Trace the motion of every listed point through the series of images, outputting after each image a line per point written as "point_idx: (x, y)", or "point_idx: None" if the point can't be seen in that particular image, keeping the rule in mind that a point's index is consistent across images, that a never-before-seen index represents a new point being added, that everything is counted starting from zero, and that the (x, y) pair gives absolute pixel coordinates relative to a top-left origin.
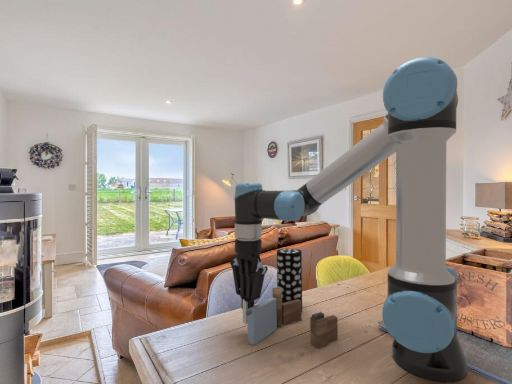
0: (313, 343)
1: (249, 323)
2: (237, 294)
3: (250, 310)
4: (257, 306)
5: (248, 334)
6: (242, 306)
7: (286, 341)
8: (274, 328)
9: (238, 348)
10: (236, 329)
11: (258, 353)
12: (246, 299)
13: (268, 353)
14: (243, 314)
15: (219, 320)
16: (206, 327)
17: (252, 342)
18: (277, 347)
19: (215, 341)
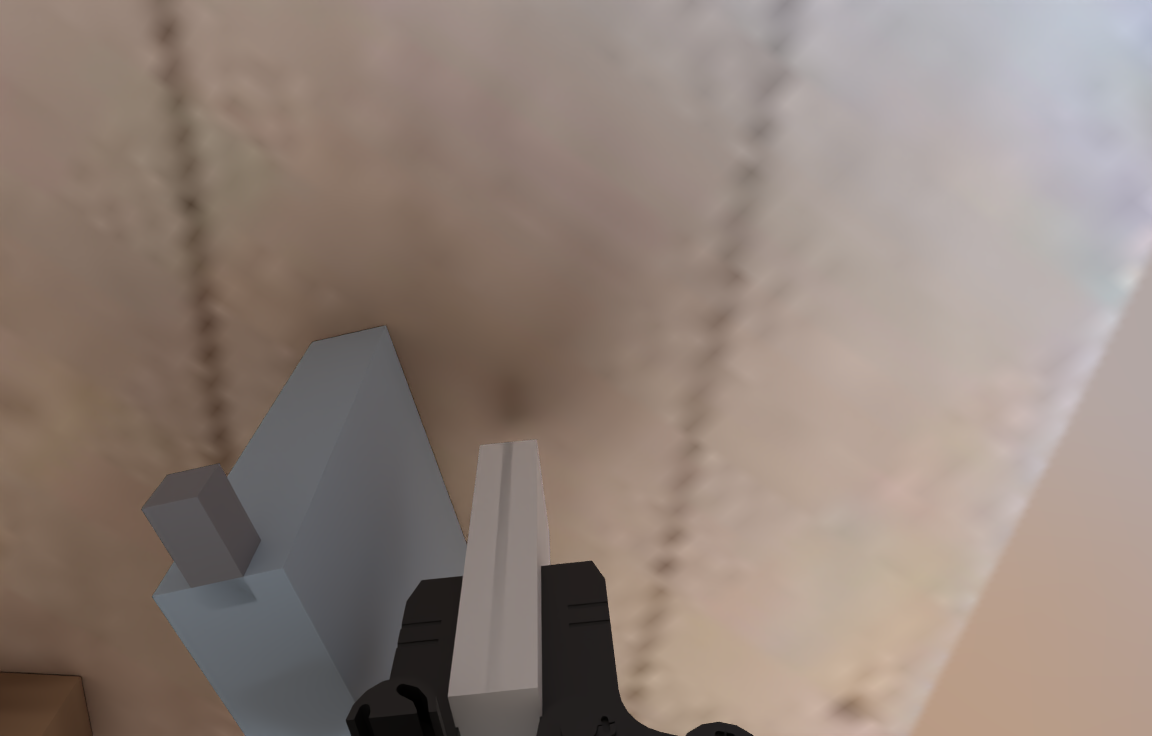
0: (34, 686)
1: (306, 443)
2: (709, 728)
3: (207, 579)
4: (297, 717)
5: (359, 368)
6: (583, 594)
7: None
8: None
9: (349, 190)
10: (688, 394)
11: (149, 286)
12: (394, 727)
13: (101, 355)
14: (518, 508)
15: (972, 374)
16: (978, 183)
17: (321, 348)
18: (158, 471)
19: (644, 78)
